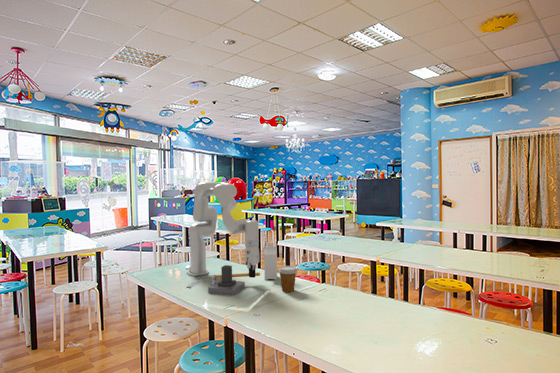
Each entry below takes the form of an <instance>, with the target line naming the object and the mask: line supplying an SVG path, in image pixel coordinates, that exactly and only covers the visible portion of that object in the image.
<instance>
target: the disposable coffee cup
mask: <svg viewBox="0 0 560 373" xmlns="http://www.w3.org/2000/svg"><path fill="white" fill-rule="evenodd" d="M297 271H298V269H297V267H296V266H294V265H283V266H280V267H279V269H278V272H279V276H280V284H281V291H282V292H284V293H293V292H295V284H296V277H297Z"/></svg>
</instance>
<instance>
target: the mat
mask: <svg viewBox="0 0 560 373" xmlns="http://www.w3.org/2000/svg"><path fill="white" fill-rule="evenodd" d="M204 281H206V279H203V278H202V279H201V278H200V279H198V280H195V281H194V282H192V283H191V284H188V285H186V288H187V289H192V288H194V287H196V286H197V285H199V284H201V283H203V282H204Z"/></svg>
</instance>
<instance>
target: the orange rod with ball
mask: <svg viewBox="0 0 560 373" xmlns="http://www.w3.org/2000/svg"><path fill="white" fill-rule="evenodd" d="M260 276H261V272H259V271H258V272H255V277H260ZM243 277H244V278H245V277H249V272H248V273H247V272H244V273H243V272H242V273H232V278H243ZM211 279H216V280H217V279H222V274H212V275H211Z"/></svg>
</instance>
